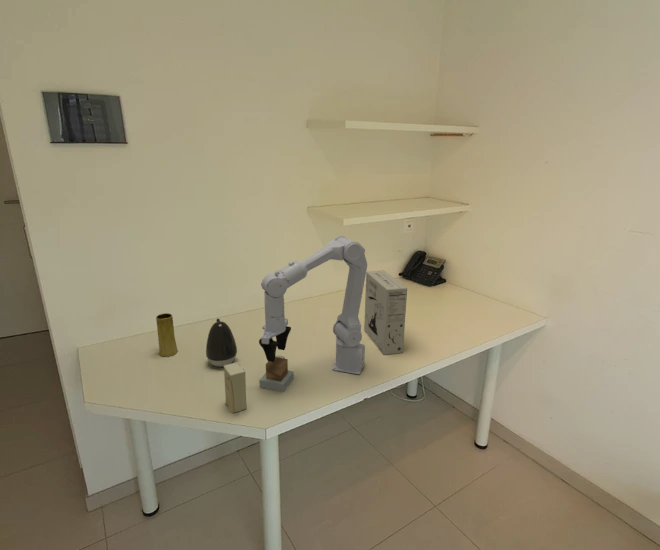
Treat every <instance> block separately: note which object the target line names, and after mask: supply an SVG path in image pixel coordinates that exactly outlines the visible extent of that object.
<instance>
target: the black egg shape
mask: <svg viewBox="0 0 660 550" xmlns="http://www.w3.org/2000/svg"><path fill="white" fill-rule="evenodd" d="M215 320H216V322H214V323H213V324H212V325H211V326H210V329H209V332H208V336H207V340H206V346H205V356H206V358H207V360H208V362H209V363H210V364H211V365H212V366H215V367H223V368H224V365H228V364H231V363H234V360H235V358H236V356H237V353H238V347H237V344H236V339H235V337H234V334H233V332H232V329H231V328H230V326H229V325H228V324H227V323H226V322H224V321H221V319H220V318H216V319H215Z"/></svg>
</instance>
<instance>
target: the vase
mask: <svg viewBox="0 0 660 550" xmlns="http://www.w3.org/2000/svg"><path fill="white" fill-rule="evenodd" d="M155 319H156V326H157V338H158V339H157V340H158V349H159V354H158V355H160V356H161V357H172V356H175V355H176V354H177V353H178V351H179V350H178V347H177V342H176V336H175V329H174V327H175V326H174V319H173V314H172V313H168V312H166V313H164V312H163V313H160V314H158V315H156V316H155Z"/></svg>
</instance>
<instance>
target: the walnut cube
mask: <svg viewBox="0 0 660 550" xmlns="http://www.w3.org/2000/svg"><path fill="white" fill-rule="evenodd" d="M288 361H289V360H288V358H285V359H284V358H279V357H275V361H274V362H271V361H267V362H266V363H265V373H266V378H267V379H272V380H277V381H282V380H283V378H284V377H285V376H286V375H287V374H288V370H289V366H288V365H289V363H288Z"/></svg>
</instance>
